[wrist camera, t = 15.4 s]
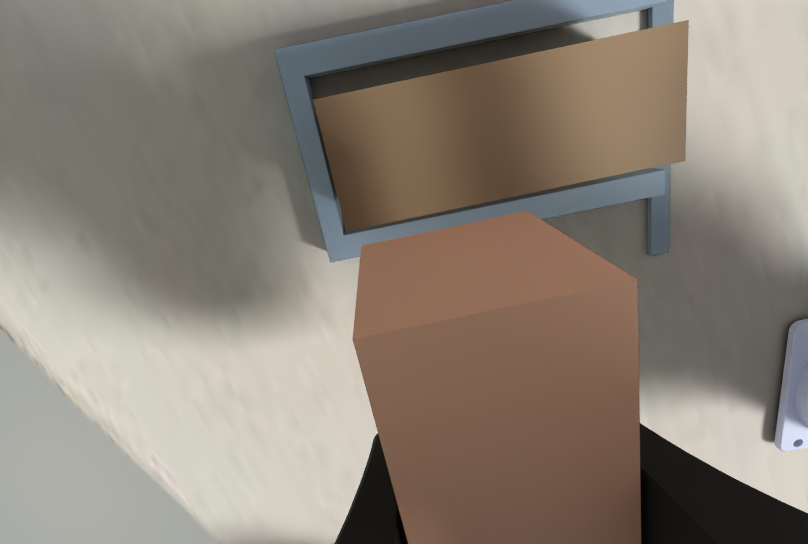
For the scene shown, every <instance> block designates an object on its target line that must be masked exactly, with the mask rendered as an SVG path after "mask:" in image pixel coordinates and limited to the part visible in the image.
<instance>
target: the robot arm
mask: <svg viewBox="0 0 808 544" xmlns="http://www.w3.org/2000/svg"><path fill="white" fill-rule="evenodd" d="M775 446H776V447H777V448H779V449H780V450H781V451H784V452H785V451H792V450H797V449H802V448H807V447H808V319H803V320H799V321H796V322H795V323H793V324H792V325H791V327H790V329H789V333H788V341H787V349H786V357H785V364H784V372H783V380H782V388H781V396H780V403H779V411H778V419H777V427H776V434H775ZM640 489H641V544H808V513H805V512H803V511H801V510H799V509H797V508H794V507H792V506H790V505H788V504H786V503H783V502H781V501H779V500H777V499H775V498H773V497H771V496H769V495H767V494H765V493H763V492H761V491H759V490H757V489H755V488H752V487H750V486H748V485H746V484H744V483H742V482H740V481H738V480H736V479H734V478H733V477H731V476H729V475H727V474H725V473H723V472H721V471H719V470H718V469H716V468H714V467H712V466H710V465H709V464H707V463H705V462H703V461H701V460H700V459H698V458H696V457H694V456H693V455H691V454H689V453H687V452H686V451H684V450H682V449H681V448H679V447H677V446H676V445H674V444H672V443H671V442H669V441H667V440H666V439H664V438H662V437H661V436H659V435H658V434H656V433H654V432H653V431H651V430H650V429H648V428H647V427H645V426H643V425H642V424H640ZM335 544H408V541H407V537H406V534H405V530H404V526H403V523H402V519H401V515H400V512H399V508H398V504H397V501H396V497H395V493H394V490H393V486H392V482H391V478H390V475H389V471H388V467H387V464H386V460H385V456H384V453H383V449H382V445H381V442H380V438H379V434H377V435H376V436H375V438H374V440H373V444H372V448H371V452H370V455H369V459H368V462H367V465H366V468H365V471H364V474H363V477H362V480H361V482H360V485H359V487H358V490H357V493H356V495H355V498H354V500H353V503H352V506H351V508H350V510H349V513H348V515H347V517H346V520H345V522H344V524H343V526H342V528H341V531H340V533H339V535H338V537H337V540H336V542H335Z"/></svg>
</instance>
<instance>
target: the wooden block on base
mask: <svg viewBox="0 0 808 544" xmlns="http://www.w3.org/2000/svg"><path fill="white" fill-rule="evenodd" d="M688 22H689V20H687V21H682V22H677V23H673V24H668V25H663V26H658V27H654V28H649V29H644V30H640V31H635V32H630V33H625V34H621V35H616V36H611V37H606V38H602V39H597V40H592V41H588V42H583V43H578V44H573V45H569V46H564V47H559V48H554V49H550V50H545V51H540V52H536V53H531V54H526V55H521V56H517V57H512V58H507V59H502V60H498V61H493V62H488V63H484V64H479V65H474V66H469V67H465V68H460V69H455V70H450V71H446V72H441V73H436V74H432V75H427V76H422V77H417V78H413V79H408V80H403V81H398V82H394V83H389V84H384V85H380V86H375V87H370V88H365V89H361V90H356V91H351V92H346V93H342V94H337V95H332V96H328V97H323V98H318V99H313V101H314V105H315V109H316V113H317V117H318V121H319V125H320V129H321V133H322V137H323V141H324V145H325V149H326V153H327V157H328V161H329V165H330V169H331V173H332V177H333V181H334V185H335V189H336V193H337V197H338V201H339V205H340V209H341V213H342V217H343V220H344V224H345V228H346V232H348V231H352V230H357V229H362V228H367V227H371V226H376V225H381V224H386V223H391V222H395V221H400V220H405V219H410V218H414V217H419V216H424V215H429V214H433V213H438V212H443V211H448V210H452V209H457V208H462V207H467V206H471V205H476V204H481V203H486V202H491V201H495V200H500V199H505V198H510V197H514V196H519V195H524V194H529V193H533V192H538V191H543V190H548V189H552V188H557V187H562V186H567V185H572V184H576V183H581V182H586V181H591V180H595V179H600V178H605V177H610V176H614V175H619V174H624V173H629V172H633V171H638V170H643V169H648V168H652V167H657V166H662V165H667V164H672V163H676V162H681V161H685V141H686V102H687V62H688Z"/></svg>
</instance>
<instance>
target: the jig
mask: <svg viewBox="0 0 808 544" xmlns="http://www.w3.org/2000/svg"><path fill="white" fill-rule="evenodd" d="M644 9H648V29H649V28H654V27H658V26H663V25H668V24H673V9H674V0H513V1H508V2H503V3H498V4H493V5H488V6H483V7H478V8H474V9H469V10H464V11H459V12H454V13H449V14H444V15H440V16H435V17H430V18H425V19H420V20H415V21H410V22H406V23H401V24H396V25H391V26H386V27H381V28H376V29H371V30H367V31H362V32H357V33H352V34H347V35H342V36H337V37H333V38H328V39H323V40H318V41H313V42H308V43H303V44H299V45H294V46H289V47H284V48H279V49H274V52H275V56H276V60H277V63H278V67H279V71H280V75H281V78H282V82H283V86H284V90H285V94H286V97H287V101H288V105H289V109H290V112H291V116H292V120H293V124H294V127H295V131H296V135H297V139H298V143H299V146H300V150H301V154H302V158H303V161H304V165H305V169H306V173H307V177H308V180H309V184H310V188H311V192H312V195H313V199H314V203H315V207H316V210H317V214H318V218H319V222H320V226H321V229H322V233H323V237H324V241H325V244H326V248H327V252H328V256H329V259H330V262H335V261H340V260H345V259H350V258H355V257H360V256H361V246H362V245H367V244H372V243H377V242H381V241H386V240H391V239H396V238H400V237H405V236H410V235H415V234H419V233H424V232H429V231H434V230H439V229H443V228H448V227H453V226H458V225H462V224H467V223H472V222H477V221H481V220H486V219H491V218H496V217H500V216H505V215H510V214H515V213H519V212H524V211H528V212H530V213H532V214H533V215H535V216H536V217H538V218H540V219H541V220H542V219H546V218H551V217H556V216H561V215H566V214H571V213H576V212H581V211H586V210H591V209H596V208H601V207H605V206H610V205H615V204H620V203H625V202H630V201H635V200H640V199H645V198H648V223H647V254H648V255H650V256H654V255H659V254H664V253H669V212H670V164H667V165H662V166H657V167H652V168H648V169H643V170H638V171H633V172H629V173H624V174H619V175H614V176H610V177H605V178H600V179H595V180H591V181H586V182H581V183H576V184H572V185H567V186H562V187H557V188H552V189H548V190H543V191H538V192H533V193H529V194H524V195H519V196H514V197H510V198H505V199H500V200H495V201H491V202H486V203H481V204H476V205H471V206H467V207H462V208H457V209H452V210H448V211H443V212H438V213H433V214H429V215H424V216H419V217H414V218H410V219H405V220H400V221H395V222H391V223H386V224H381V225H376V226H371V227H367V228H362V229H357V230H352V231H348V232H346V228H345V224H344V220H343V217H342V213H341V209H340V205H339V201H338V197H337V193H336V189H335V185H334V181H333V177H332V173H331V169H330V165H329V161H328V157H327V153H326V149H325V145H324V141H323V137H322V133H321V129H320V125H319V121H318V117H317V113H316V109H315V105H314V101H313V99H314V98H313V94H312V90H311V86H310V82H309V78H313V77H318V76H323V75H328V74H333V73H338V72H342V71H347V70H352V69H357V68H362V67H367V66H372V65H377V64H381V63H386V62H391V61H396V60H401V59H406V58H411V57H415V56H420V55H425V54H430V53H435V52H440V51H445V50H450V49H454V48H459V47H464V46H469V45H474V44H479V43H484V42H489V41H493V40H498V39H503V38H508V37H513V36H518V35H523V34H528V33H532V32H537V31H542V30H547V29H552V28H557V27H562V26H567V25H571V24H576V23H581V22H586V21H591V20H596V19H601V18H605V17H610V16H615V15H620V14H625V13H630V12H635V11H640V10H644Z"/></svg>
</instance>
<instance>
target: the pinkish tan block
mask: <svg viewBox="0 0 808 544" xmlns="http://www.w3.org/2000/svg"><path fill="white" fill-rule="evenodd" d="M353 342H354V346H355V349H356V353H357V357H358V360H359V364H360V368H361V371H362V375H363V379H364V383H365V386H366V390H367V394H368V397H369V401H370V405H371V408H372V412H373V416H374V419H375V423H376V427H377V431H378V434H379V438H380V442H381V445H382V449H383V453H384V456H385V460H386V464H387V467H388V471H389V475H390V478H391V482H392V486H393V490H394V493H395V497H396V501H397V504H398V508H399V512H400V515H401V519H402V523H403V526H404V530H405V534H406V537H407V541H408V544H641V489H640V414H639V338H638V279H636V278H634V277H633V276H631V275H630V274H628V273H626V272H625V271H623V270H622V269H620V268H618V267H617V266H615V265H614V264H612V263H610V262H609V261H607V260H606V259H604V258H602V257H601V256H599V255H597V254H596V253H594V252H593V251H591V250H589V249H588V248H586V247H585V246H583V245H581V244H580V243H578V242H577V241H575V240H573V239H572V238H570V237H569V236H567V235H565V234H564V233H562V232H560V231H559V230H557V229H556V228H554V227H552V226H551V225H549V224H548V223H546V222H544V221H543V220H541V219H540V218H538V217H536V216H535V215H533V214H532V213H530V212H528V211H524V212H519V213H515V214H510V215H505V216H500V217H496V218H491V219H486V220H481V221H477V222H472V223H467V224H462V225H458V226H453V227H448V228H443V229H439V230H434V231H429V232H424V233H419V234H415V235H410V236H405V237H400V238H396V239H391V240H386V241H381V242H377V243H372V244H367V245H362V246H361V256H360V267H359V277H358V288H357V299H356V309H355V320H354V331H353Z"/></svg>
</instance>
